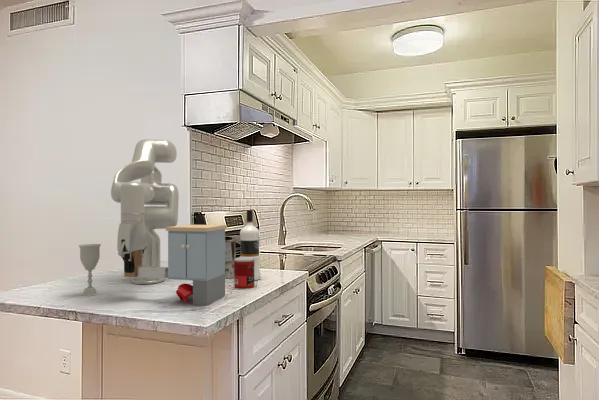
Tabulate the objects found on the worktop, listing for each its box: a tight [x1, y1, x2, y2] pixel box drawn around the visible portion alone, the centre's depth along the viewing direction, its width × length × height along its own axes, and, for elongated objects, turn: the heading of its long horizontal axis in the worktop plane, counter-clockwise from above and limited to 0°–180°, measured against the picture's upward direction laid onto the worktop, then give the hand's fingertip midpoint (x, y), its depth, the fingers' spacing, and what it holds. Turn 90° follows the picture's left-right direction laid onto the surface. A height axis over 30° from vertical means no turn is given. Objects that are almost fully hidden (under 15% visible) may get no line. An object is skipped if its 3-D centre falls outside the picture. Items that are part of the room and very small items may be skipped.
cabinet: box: [165, 224, 228, 306], centre depth 136 cm, size 15×16×25 cm
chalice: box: [78, 243, 102, 297], centre depth 145 cm, size 7×7×18 cm
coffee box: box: [225, 239, 237, 279], centre depth 178 cm, size 9×6×16 cm
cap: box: [175, 283, 193, 304], centre depth 135 cm, size 8×6×6 cm
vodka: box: [239, 209, 262, 282], centre depth 172 cm, size 9×9×30 cm
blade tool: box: [123, 249, 168, 280], centre depth 137 cm, size 15×4×9 cm, turn 76°
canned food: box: [233, 257, 255, 290], centre depth 157 cm, size 8×8×11 cm
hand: (133, 270), depth 138 cm, fingers closed on blade tool, 4 cm apart
